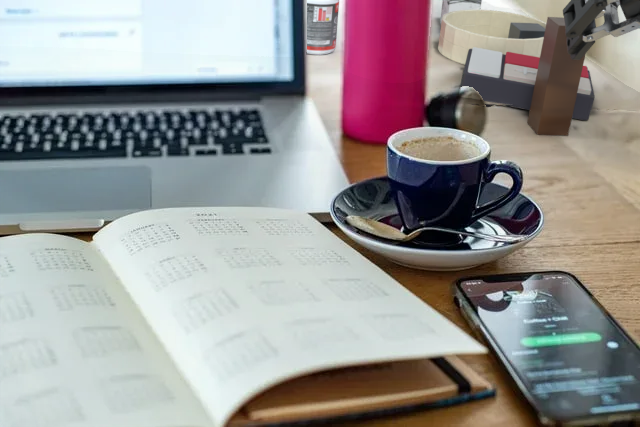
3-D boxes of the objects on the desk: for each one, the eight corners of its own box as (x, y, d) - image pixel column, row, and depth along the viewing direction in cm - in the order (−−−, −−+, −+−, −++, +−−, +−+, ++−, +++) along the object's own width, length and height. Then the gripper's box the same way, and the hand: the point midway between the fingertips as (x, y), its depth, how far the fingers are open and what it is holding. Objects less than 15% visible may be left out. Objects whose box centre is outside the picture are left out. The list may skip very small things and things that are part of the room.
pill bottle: (341, 54, 117) (348, -21, 112) (301, 56, 115) (307, -21, 110) (325, 42, 121) (331, -31, 117) (286, 44, 119) (291, -31, 115)
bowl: (528, 46, 127) (534, 12, 125) (564, 79, 114) (572, 42, 112) (427, 42, 125) (431, 7, 123) (452, 75, 112) (457, 36, 110)
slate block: (533, 51, 122) (538, 23, 120) (543, 60, 119) (549, 31, 117) (505, 51, 121) (510, 22, 120) (515, 59, 118) (520, 30, 116)
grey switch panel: (597, 91, 99) (464, 66, 101) (587, 126, 101) (456, 101, 103) (591, 63, 108) (470, 41, 110) (582, 96, 110) (463, 74, 112)
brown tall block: (557, 123, 99) (579, 18, 94) (568, 135, 96) (591, 27, 90) (527, 122, 99) (547, 16, 93) (537, 134, 95) (559, 25, 90)
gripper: (791, -88, 68) (683, 19, 83) (616, -99, 66) (539, 13, 82) (810, -3, 66) (695, 91, 81) (629, -11, 64) (547, 87, 79)
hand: (617, 52), depth 81 cm, fingers open, 8 cm apart
